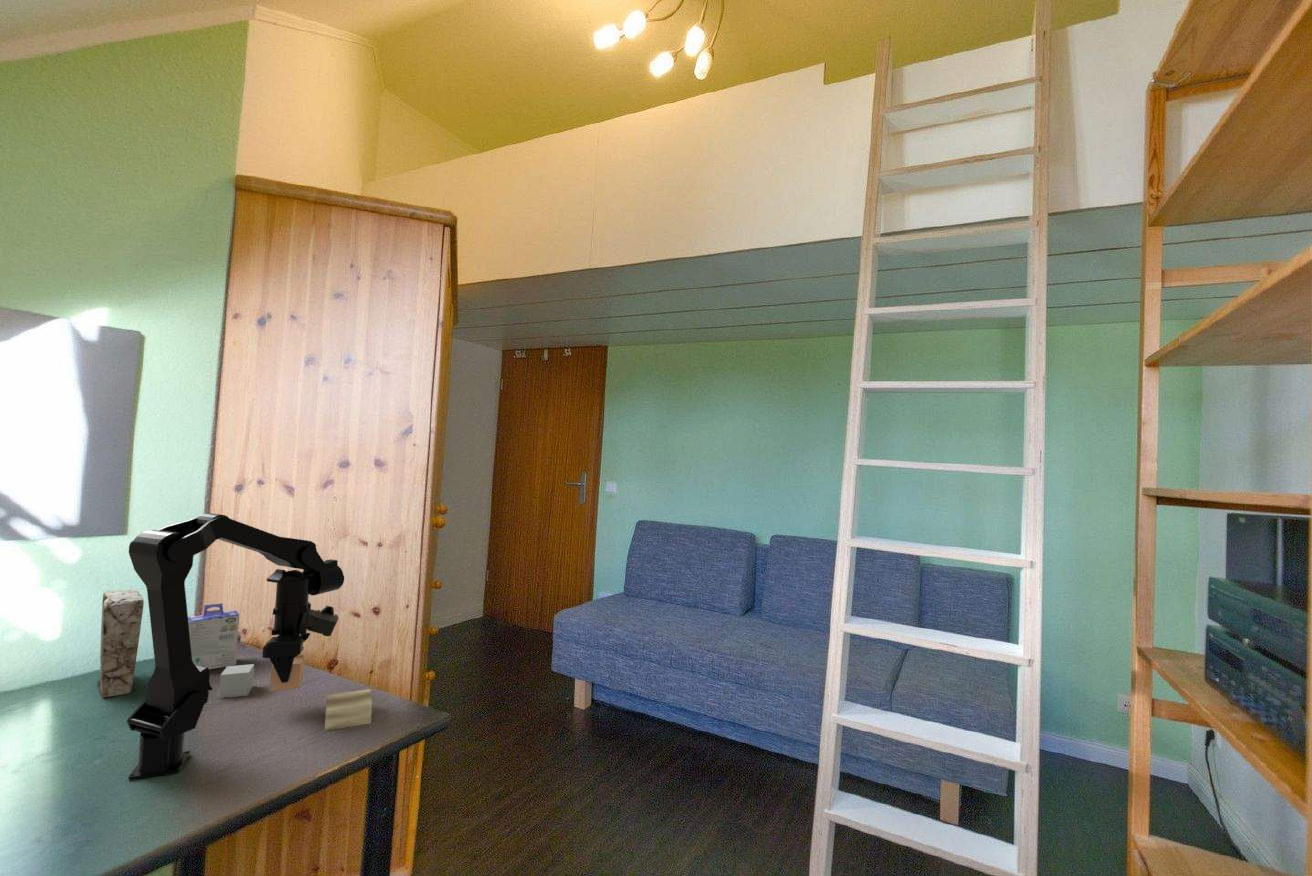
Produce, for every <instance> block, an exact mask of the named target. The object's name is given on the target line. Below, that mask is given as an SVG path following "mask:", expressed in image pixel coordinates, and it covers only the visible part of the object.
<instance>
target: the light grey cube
mask: <svg viewBox="0 0 1312 876" xmlns="http://www.w3.org/2000/svg"><path fill="white" fill-rule="evenodd" d="M254 673H255V664H254V663H252V664H239V665H233V666H227V667H225V668H224V670H223V671H222V672H221V674H220V676H219V677H220V678H219V679H220V681H219V691H218V692H219V693H218V699H227V698H226V697H228V698H235V697H246V696H249V693H250V692H251V690H252V689H253V686H254ZM251 688H252V689H251ZM224 697H225V698H224Z"/></svg>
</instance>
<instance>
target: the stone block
mask: <svg viewBox="0 0 1312 876" xmlns="http://www.w3.org/2000/svg"><path fill="white" fill-rule="evenodd" d="M101 603H102V607H101V625H100V626H101V627H100V630H101V631H100V653H99V657H100V660H99V662H100V663H99V667H100V669H99V671H100V672H99V673H100V675H99V676H100V677H99V680H98V681H97V683H96V684H97V686H98V689H99V693H100V694H101V697H102V698H107V697H114V696H115V697H116V696H121V695H123V696H124V695H129V694H131V693H133V689H132V688H133V683H134V677H135V676H134V675H135V671H136V669H135V668H136V664H137V657H138V651H139V649H138V648H139V641H140V634H141V629H142V628H141V627H142V620H143V619H142V618H143V611H144V605H145V604H144V603H145V602H144V597H143V596H142V594H140V591H139V590H138V589H120V590H117V589H116V590H106V591H104V592H103V594H102V602H101Z"/></svg>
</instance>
